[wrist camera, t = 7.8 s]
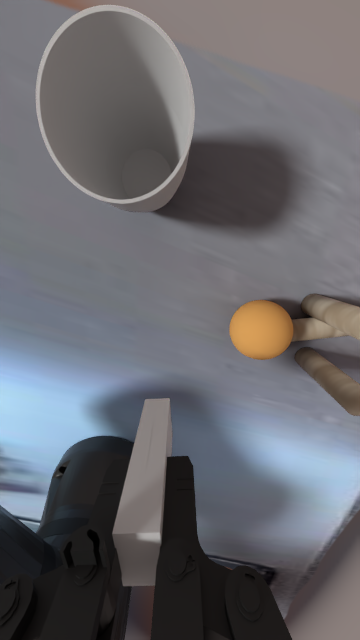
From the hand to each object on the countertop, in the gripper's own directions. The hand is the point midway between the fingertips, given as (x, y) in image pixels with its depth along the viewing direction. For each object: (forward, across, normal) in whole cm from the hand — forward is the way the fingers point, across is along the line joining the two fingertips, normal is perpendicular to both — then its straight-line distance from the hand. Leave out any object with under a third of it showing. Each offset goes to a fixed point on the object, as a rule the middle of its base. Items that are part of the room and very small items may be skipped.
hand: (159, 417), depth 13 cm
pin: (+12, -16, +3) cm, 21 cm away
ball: (+10, -10, -2) cm, 14 cm away
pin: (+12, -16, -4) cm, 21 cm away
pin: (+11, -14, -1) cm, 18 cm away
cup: (+13, +1, -17) cm, 21 cm away
